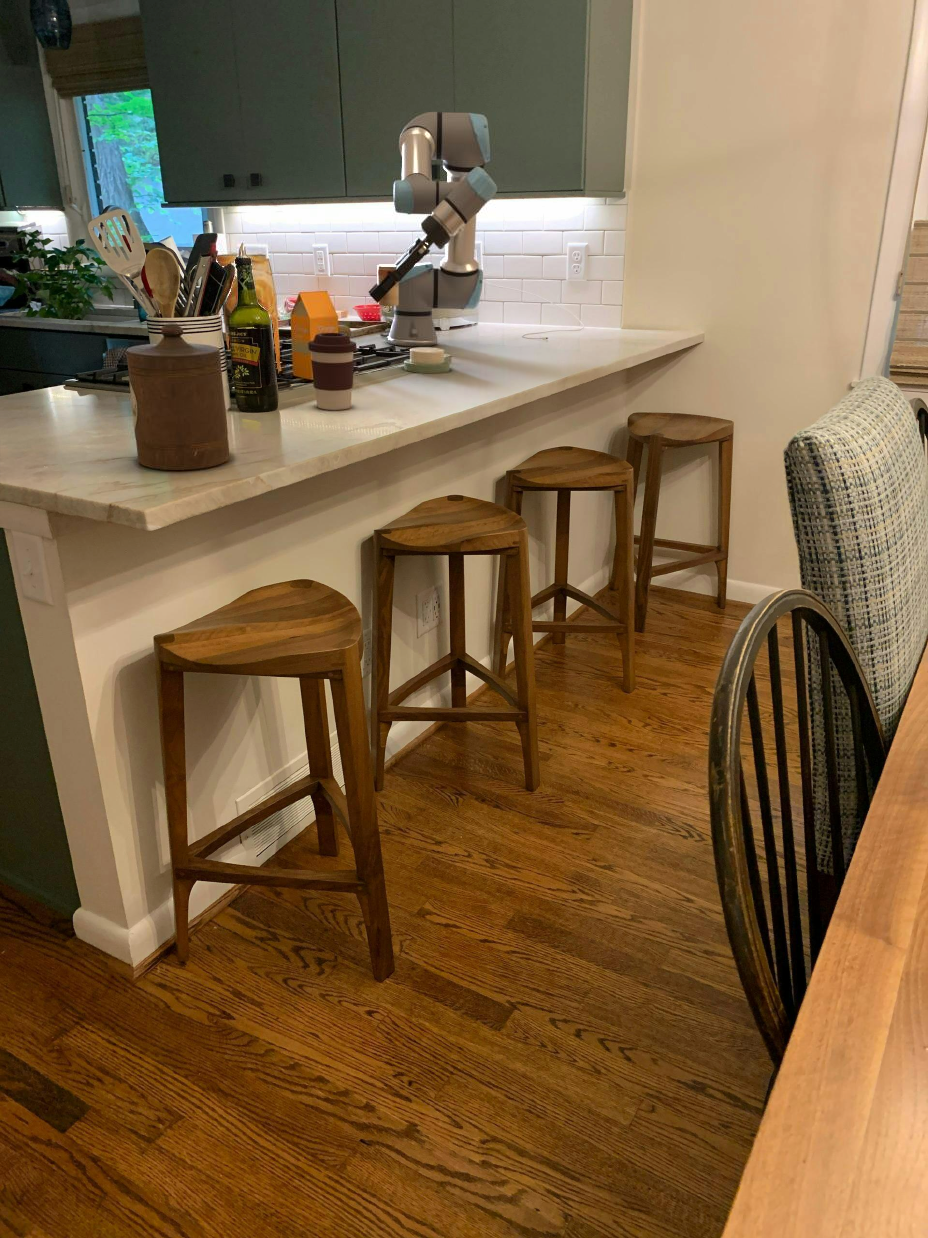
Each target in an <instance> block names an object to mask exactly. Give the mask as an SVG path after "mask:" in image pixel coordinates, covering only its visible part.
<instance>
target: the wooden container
mask: <svg viewBox="0 0 928 1238" xmlns="http://www.w3.org/2000/svg"><path fill="white" fill-rule="evenodd" d="M160 331H161V332H160V333H161V335H162V336H163V337H162V338H161V340H159V342H158V343H146V344H140V345H134V346H131V347H128V348H127V349H126V363H127V368H128V379H129V392H130V399H131V411H132V423H133V430H134V437H135V445H136V452H137V459H138V463H140V464H141V465H142V466H144V467H147V468H151V469H155V470H163V471H190V470H191V471H193V470H201V469H207V468H212V467H216V466H219V465H222V464H223V463H227V461H228V460H230V443H229V435H228V434H229V431H228V429H229V428H228V419H227V411H226V410H227V408H226V401H225V389H224V382H223V381H224V380H223V371H222V356H221V349H220V348H219V347H218V346H214V345H210V344H202V343H189V342H187V341H186V340H185V339H184V338H183V337H182V335H183V334H184V329H183V328H182V326H180V325H178V324H177V323H173V322H172V323H169V322H168V323H166V324H165V325H163V326H161V329H160Z"/></svg>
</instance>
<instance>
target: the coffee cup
mask: <svg viewBox="0 0 928 1238" xmlns="http://www.w3.org/2000/svg"><path fill="white" fill-rule="evenodd" d="M308 349H309V350H310V351H311V352H312V360H311V363H312V373H313V380H312V383H313V388H314V391H315V400H316V401H315V402H316V406H317V408H319V409H321V410H327V411H343V410H348V409H350V408H351V406H352V390H353V387H354V374H355V373H354V369H355V360H354V352H356V351H357V343H356V342H355V341H352V340H351V337H350V338H349V336H348V335H347V334H343V333H319V334H316V335H315V338H314V340H313V341H310V342H308Z"/></svg>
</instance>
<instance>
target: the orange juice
mask: <svg viewBox="0 0 928 1238" xmlns="http://www.w3.org/2000/svg"><path fill="white" fill-rule="evenodd" d="M292 307H293V308H292V310H291V313H290V334H291V335H290V336H291V356H292V357H291V358H292V376H294V377H296V378H297V377H298V378H301V379H306V380H310V381H313V373H312V363H311V360H312V352H311V351H310V350H309V349H308V342H310V341H313V340H314V338H315V335H316V334H319V333H338V325H339V315H338V313H337V311H336V308H335V306H334V304H333V302H332V299H331V297H330V294H329V292H328V290H315V291H300V292H298V295H297V298H296V300H295V303H294V305H293V306H292Z"/></svg>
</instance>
